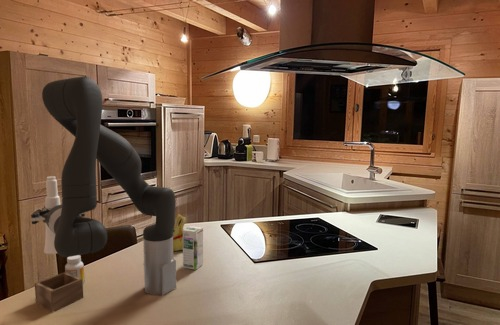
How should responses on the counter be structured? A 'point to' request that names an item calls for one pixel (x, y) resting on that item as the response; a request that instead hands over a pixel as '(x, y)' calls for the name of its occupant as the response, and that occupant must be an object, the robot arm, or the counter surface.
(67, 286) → the holder
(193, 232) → the syrup box
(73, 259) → the supplement bottle
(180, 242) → the chocolate bunny
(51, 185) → the cosmetic bottle
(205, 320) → the counter surface
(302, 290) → the counter surface
